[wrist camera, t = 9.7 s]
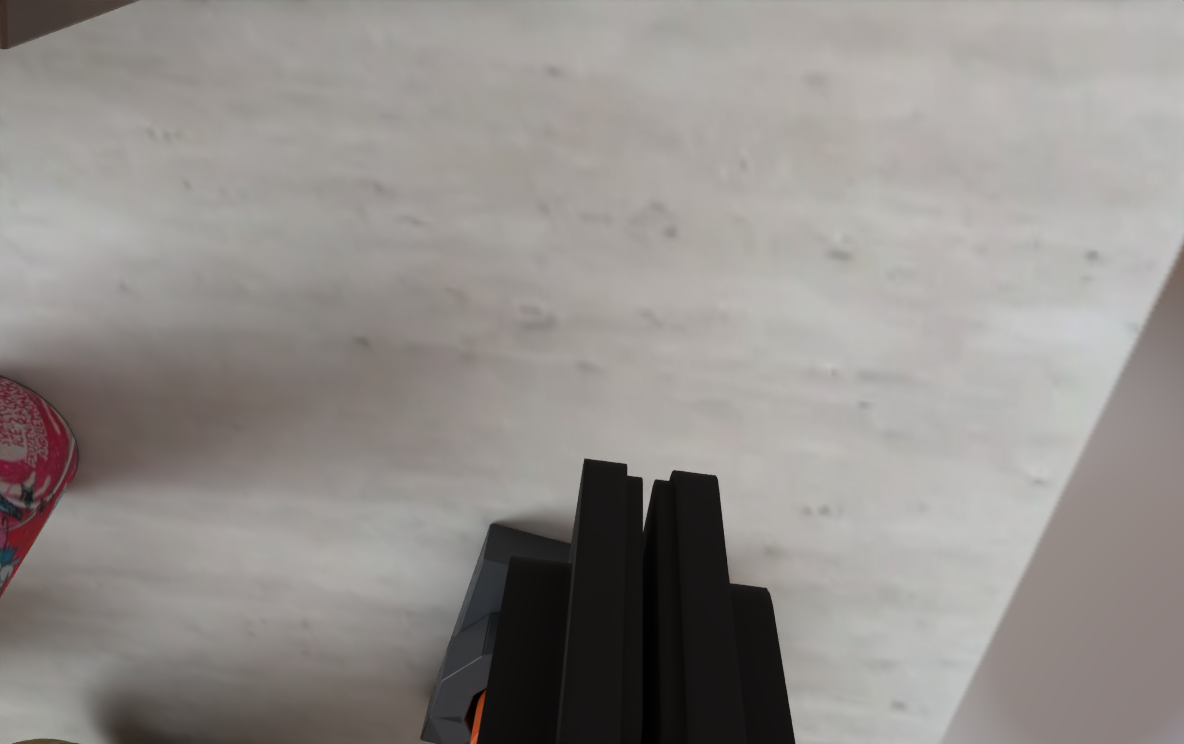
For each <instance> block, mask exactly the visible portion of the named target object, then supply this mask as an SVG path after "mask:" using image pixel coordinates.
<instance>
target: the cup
mask: <svg viewBox="0 0 1184 744" xmlns="http://www.w3.org/2000/svg"><path fill="white" fill-rule="evenodd" d="M77 466H78V450H77V445H76V442H75V439H74V437H73V435H72V433H71V430H70V428H69V427H68V425H67V424H66V422H65V421H64V420H63V418H62V417H61V416H60V415H59V414H58V413H57V412H56V410H55V409H53V408H52V407H51V406H50V405H49V404H48V403H47V402H46V401H44V400H43V399H42V398H41V397H39V396H38V395H36V394H35V393H33V392H32V391H30V390H29V389H27V388H25V387H23V386H21V385H19V384H17V383H15V382H13V381H10V380H8V379H5V378H2V377H0V597H1V595H2V594H3V592H4V591H5V589H6V587H7V586H8V584H9V582H10V581H11V579H12V577H13V576H14V574H15V573H16V571H17V569H18V568H19V566H20V564H21V563H22V561H23V560H24V558H25V556H26V555H27V553H28V551H29V550H30V548H31V546H32V545H33V543H34V541H35V540H36V538H37V537H38V535H39V533H40V532H41V530H42V528H43V527H44V525H45V523H46V522H47V520H48V519H49V517H50V515H51V514H52V512H53V510H54V509H55V507H56V505H57V504H58V502H59V500H60V499H61V497H62V496H63V494H64V492H65V491H66V489H67V487H68V486H69V484H70V482H71V481H72V479H73V477H74V476H75V473H76V470H77Z"/></svg>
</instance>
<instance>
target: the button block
mask: <svg viewBox="0 0 1184 744" xmlns="http://www.w3.org/2000/svg"><path fill="white" fill-rule="evenodd" d="M570 548H571V545H569V544H566V543H562V542H558V541H555V540H551V539H547V538H543V537H540V536H536V535H532V534H529V533H525V532H521V531H517V530H514V529H510V528H506V527H503V526H499V525H495V524H491V525H490V526H489V529H488V532H487V535H486V538H485V541H484V544H483V547H482V550H481V553H480V556H479V558H478V561H477V564H476V567H475V570H474V573H473V576H472V579H471V582H470V585H469V588H468V591H467V593H466V596H465V599H464V602H463V605H462V608H461V611H460V614H459V617H458V620H457V623H456V626H455V628H454V631H453V634H452V637H451V640H450V642H449V645H448V648H447V651H446V654H445V657H444V660H443V663H442V666H441V668H440V671H439V675H438V678H437V681H436V684H435V687H434V690H433V693H432V695H431V698H430V701H429V705H428V709H427V713H426V717H425V721H424V726H423V730H422V734H421V740H423V741H427V742H431V743H435V744H470V741H471V735H472V730H473V724H474V719H475V714H476V708H477V704H478V700H479V698H480V696H481V695H482V693H483V692H484V691H485V690H486V688H487V682H488V677H489V671H490V666H491V660H492V655H493V649H494V643H495V638H496V632H497V627H498V621H499V616H500V610H501V605H502V599H503V594H504V588H505V582H506V577H507V571H508V566H509V561H510V557H511V556H519V557H527V558H534V559H542V560H550V561H558V562H566V563H568V562H569V555H570Z"/></svg>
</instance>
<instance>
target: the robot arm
mask: <svg viewBox="0 0 1184 744" xmlns="http://www.w3.org/2000/svg"><path fill="white" fill-rule="evenodd" d="M476 744H795V738H794V732H793V726H792V720H791V714H790V708H789V702H788V696H787V689H786V683H785V677H784V671H783V665H782V659H781V653H780V647H779V641H778V634H777V628H776V622H775V616H774V610H773V604H772V600H771V596H770V593H769V591H768V590H767V588H762V587H754V586H747V585H739V584H731V583H729V574H728V565H727V556H726V547H725V538H724V529H723V520H722V511H721V502H720V493H719V485H718V479H717V477H716V476H715V475H707V474H699V473H692V472H684V471H676V470H673V471H672V474H671V476H670V480H669V481H664V480H657V479H656V480H655V481H654V484H653V488H652V493H651V498H650V502H649V507H648V512H647V517H646V521H645V526H644V531H643V479H642V478H641V477H633V476H627V464H623V463H615V462H607V461H600V460H592V459H584V464H583V470H582V476H581V483H580V489H579V496H578V502H577V509H576V516H575V522H574V529H573V535H572V542H571V548H570V555H569V562H568V563H566V562H558V561H550V560H542V559H534V558H527V557H519V556H511V557H510V561H509V566H508V571H507V577H506V582H505V588H504V594H503V599H502V605H501V610H500V616H499V621H498V627H497V632H496V638H495V643H494V649H493V655H492V660H491V666H490V671H489V677H488V682H487V688H486V693H485V699H484V705H483V710H482V716H481V721H480V727H479V732H478V738H477V743H476Z"/></svg>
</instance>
